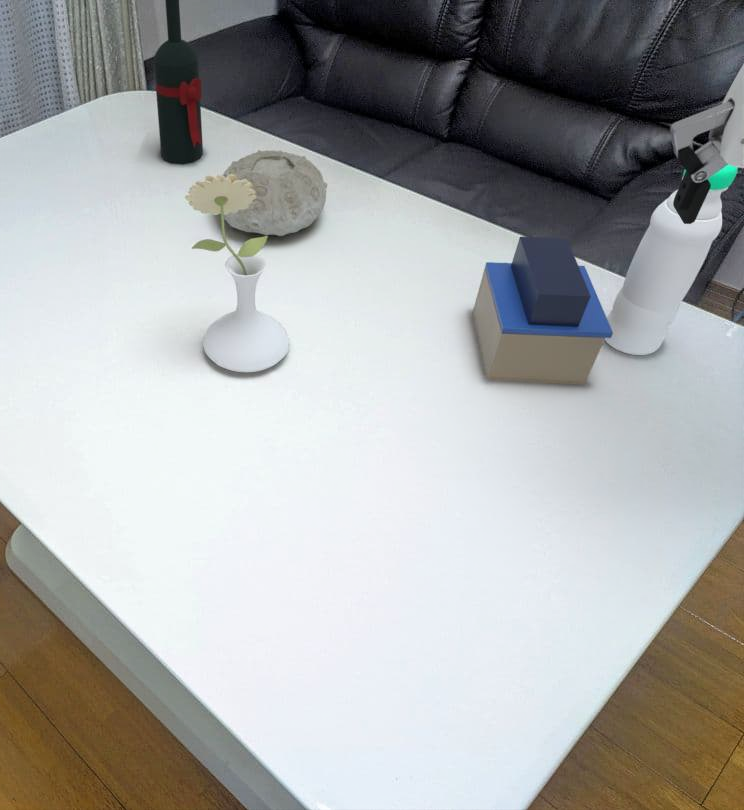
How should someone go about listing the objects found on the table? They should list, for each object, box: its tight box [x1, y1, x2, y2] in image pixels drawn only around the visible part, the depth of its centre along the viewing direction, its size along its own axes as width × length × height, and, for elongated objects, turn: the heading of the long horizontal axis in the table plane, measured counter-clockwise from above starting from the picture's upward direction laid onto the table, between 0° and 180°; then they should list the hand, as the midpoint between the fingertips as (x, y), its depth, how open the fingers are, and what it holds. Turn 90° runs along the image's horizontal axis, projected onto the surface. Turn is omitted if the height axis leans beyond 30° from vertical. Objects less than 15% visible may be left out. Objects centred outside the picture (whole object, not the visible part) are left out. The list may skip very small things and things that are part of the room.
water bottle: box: [604, 164, 739, 356], centre depth 87 cm, size 7×7×25 cm
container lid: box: [484, 261, 613, 338], centre depth 90 cm, size 12×14×1 cm
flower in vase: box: [184, 174, 291, 373], centre depth 89 cm, size 13×11×25 cm
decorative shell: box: [222, 149, 328, 237], centre depth 117 cm, size 18×18×10 cm
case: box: [511, 236, 591, 327], centre depth 88 cm, size 12×6×4 cm, turn 173°
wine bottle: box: [153, 0, 204, 165], centre depth 127 cm, size 8×10×30 cm
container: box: [471, 268, 605, 386], centre depth 93 cm, size 12×14×8 cm
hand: (741, 217), depth 66 cm, fingers open, 9 cm apart
